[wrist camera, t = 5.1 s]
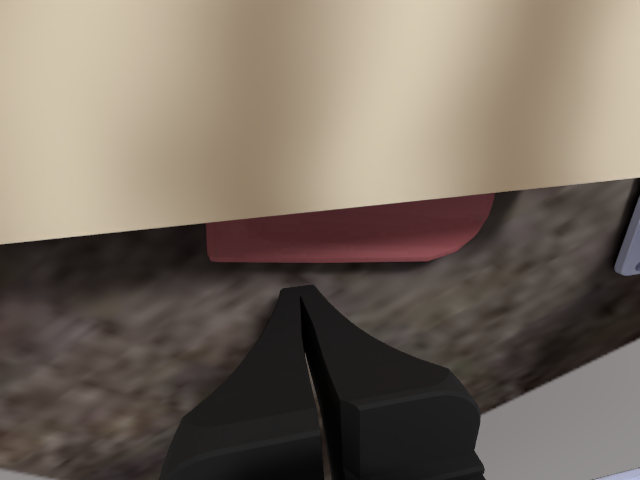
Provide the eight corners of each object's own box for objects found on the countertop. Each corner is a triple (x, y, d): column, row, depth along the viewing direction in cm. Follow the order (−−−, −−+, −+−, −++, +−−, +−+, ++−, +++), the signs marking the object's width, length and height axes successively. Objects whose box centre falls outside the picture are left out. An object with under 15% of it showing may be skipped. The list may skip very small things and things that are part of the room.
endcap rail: (572, -1, 10) (730, -65, 7) (537, 161, 12) (645, 176, 9) (-148, 8, 7) (-510, -94, 4) (-37, 214, 10) (-212, 266, 6)
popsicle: (28, 79, 8) (518, 134, 10) (65, 86, 9) (488, 132, 12) (69, 263, 10) (476, 268, 12) (95, 245, 11) (454, 253, 14)
